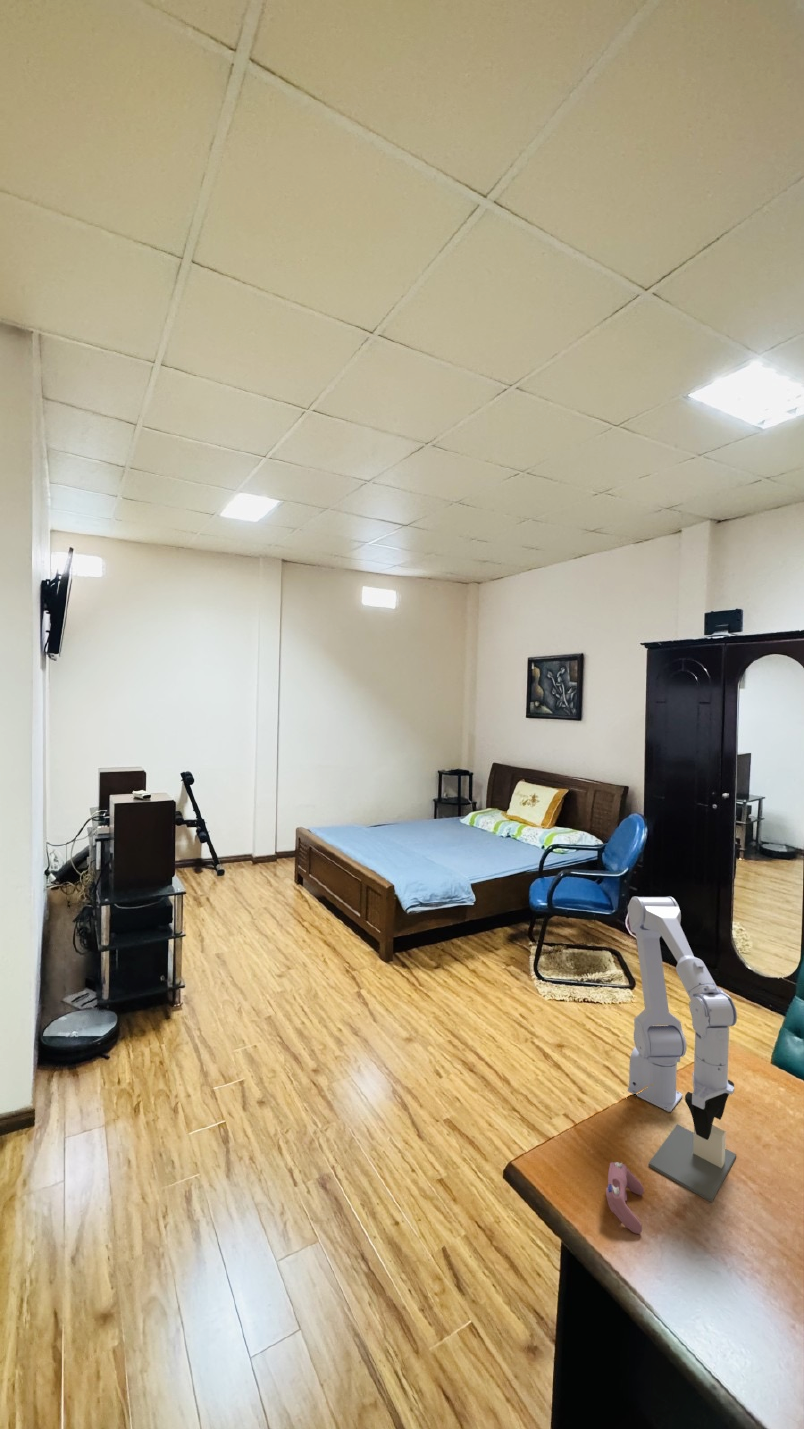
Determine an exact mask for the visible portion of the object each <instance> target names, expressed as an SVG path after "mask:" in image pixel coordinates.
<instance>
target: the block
mask: <svg viewBox="0 0 804 1429" xmlns="http://www.w3.org/2000/svg"><path fill="white" fill-rule="evenodd" d="M693 1132H694V1144H693V1153H694V1154H696V1155H698V1156H699V1157H701V1158H703V1159H705V1160H707V1161H709V1162H711V1163H712V1164H714V1165H716V1166H718V1167H720V1168H722V1167H723V1165H724V1163H725V1149H726V1131H725V1130H724V1129H721V1128H719V1127H717V1126H715V1125H713V1124H712V1129H711V1134H710V1137H709V1139H708V1140H706V1139H704V1138H702V1137H700V1136H698V1135H697V1134H696V1131H695V1127H694V1126H693Z"/></svg>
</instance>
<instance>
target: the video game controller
mask: <svg viewBox="0 0 804 1429" xmlns="http://www.w3.org/2000/svg"><path fill="white" fill-rule="evenodd" d="M626 1189H628V1191H630V1192H632V1193H633V1194H636V1195H637V1196H642V1195H644V1193H645V1188H644V1186H643V1184H642V1183H641V1181H640V1180H639V1179H638V1178H637V1177H636V1176H635V1174H633V1173H632V1172H631V1171H630V1169H629V1167H627V1165H626V1164H625V1163H624V1164H623V1162H619V1161H615V1162H610V1163H609V1167H608V1173H607V1187H606V1188H605V1195H606V1200H607V1204H608V1207H609V1209H610V1211H611V1212H612V1213H613V1214H615V1216H616V1217H617V1219H618V1220H619V1221H620V1222H621V1223H622V1225H624V1227H625V1228H627V1229H628V1230H630V1232H632V1233H634V1234H636V1235H640V1234H641V1233H642V1232H643V1226H642V1224H641V1222H640V1220H639V1218H638V1217H637V1216H636V1214H634V1212H633V1211H632V1209H630V1208H629V1206H628V1204H626V1202H627V1201H628V1194H627V1191H626Z"/></svg>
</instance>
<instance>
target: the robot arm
mask: <svg viewBox="0 0 804 1429" xmlns="http://www.w3.org/2000/svg"><path fill="white" fill-rule="evenodd" d="M627 914H628V920H629V921H628V922H629V928H630V931H631V932H632V933H634V934H635V938H636V946H637V953H638V955H637V956H638V961H639V962H638V963H639V970H640V978H641V985H642V995H643V996H642V997H643V1002H644V1009H643V1010H642V1011H641V1012H640V1013H639V1014H638V1015H636V1016H635V1018H634V1019H633V1020H634V1023H633V1024H634V1031H633V1042H634V1047H633V1050H632V1051H631V1054H630V1057H629V1067H628V1068H629V1070H628V1071H629V1072H628V1074H629V1076H628V1087H627V1092H628V1093H630V1094H632V1095H634V1094H636V1093H637V1092H639V1091H640V1090H642V1089H644V1088H645V1087H648V1088H646V1089H644V1090H643V1091H642V1092H640V1093H638V1094H636V1095H637V1096H636V1095H635V1096H636V1097H638V1098H640V1099H642V1100H644V1101H645V1102H648V1103H650V1104H652V1105H654V1106H656V1107H658V1108H660V1109H662V1110H664V1111H665V1112H668V1113H670V1112H672V1110H674V1108H675V1107H676V1106H677V1104H678V1103H679V1102H680V1100H681V1099H682V1098H683V1097H684V1101H685V1104H686V1105H687V1108H688V1109H689V1111H690V1114H691V1117H692V1121H693V1122H692V1123H693V1128H694V1127H695V1131H696V1134H697V1135H698V1136H700V1137H702V1138H704V1139H706V1140H708V1139H709V1137H710V1134H711V1129H712V1125H713V1122H714V1120H715V1119H717V1120H719V1121H721V1119H722V1118H723V1114H724V1112H725V1107H726V1104H727V1100H728V1098H729V1096H730V1095H731V1096H732V1095H734V1093H735V1083H734V1082H733V1081H732V1080H730V1079H728V1077H729V1075H728V1074H729V1050H730V1049H729V1047H730V1045H729V1044H730V1041H729V1040H730V1039H729V1038H730V1028H729V1027H734V1026H735V1025H737V1024H736V1023H737V1020H738V1013H737V1009H736V1005H735V1004H734V1001H733V999H732V997H731V996H730V995H729V994H728V993H726V992H725V991H723V989H722V988H721V987H718V986H717V984H716V982H715V980H714V979H713V977H712V975H711V973H710V971H709V970H708V968H707V966H706V964H705V963H704V961H703V960H702V959H700V958H698V957H696V956H694V953H693V951H692V949H691V947H690V945H689V942H688V939H687V936H686V935H685V932H684V931H683V928H682V926H681V921H682V920H681V919H682V914H681V910H680V906H679V904H678V902H677V901H676V899H675V898H674V897H672V896H632V897H631V899H630V900H629V903H628V905H627ZM660 938H662V939H663V941H664V942H665V944H666V945H667V947H668V949H669V950H670V952H671V954H672V955H673V957H674V959H675V960H676V962H677V964H676V966H675V971H676V973H677V975H678V977H679V980H680V982H681V983H682V986H683V988H684V989H685V992H686V994H687V995H688V997H689V999H690V1001H689V1002H688V1005H689V1012H690V1015H691V1019H692V1020H691V1022H692V1024H691V1025H692V1028H693V1030H694V1034H695V1035H694V1056H693V1057H694V1061H693V1063H694V1064H693V1066H694V1067H693V1073H692V1087H693V1092H690V1091H687V1092H686V1094H685V1095H683V1093H681V1092H680V1091H678V1090H677V1071H678V1068H677V1067H678V1066H677V1064H678V1063H680V1062H681V1058H683V1057H684V1056H685V1055H686V1053H687V1048H688V1046H687V1040H686V1036H685V1034H684V1031H683V1026H682V1022H681V1021H680V1020H679V1019H678V1018H677V1016H675V1015H673V1014H672V1013H671V1012H670V1010H669V1003H668V1002H669V1001H668V996H667V988H666V987H667V986H666V980H665V971H664V965H663V958H662V957H663V956H662V950H661V944H660V943H661V942H660ZM652 1084H653V1085H652ZM651 1085H652V1086H651Z"/></svg>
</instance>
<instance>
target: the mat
mask: <svg viewBox="0 0 804 1429" xmlns="http://www.w3.org/2000/svg"><path fill="white" fill-rule="evenodd" d="M693 1144H694V1131H691V1130H690V1129H688V1128H686V1127H684V1126H682V1125H680V1124H678V1123H677V1124H676V1125H675V1126H674V1127H673V1129H672V1131H671V1132H669V1135H668V1136H667V1137H666V1139H665V1140H664V1141H663V1143H662V1144H661V1146H660V1147H659V1149H658V1150H657V1151H655V1154H654V1155H653V1156H652V1158H651V1159H650V1160H649V1161H648V1167H649V1168H651V1169H653V1170H654V1171H656V1172H658V1173H659V1174H661V1175H663V1176H664V1177H666V1178H669V1179H670V1180H671V1181H673V1182H675V1183H676V1184H678V1185H680V1186H682V1187H684V1188H685V1189H687V1190H689V1191H690V1192H692V1193H694V1194H695V1195H697V1196H699V1197H701V1198H703V1199H705V1200H706V1201H708V1202H709V1203H713V1201H714V1199H715V1197H716V1196H717V1194H718V1192H719V1190H720V1189H721V1186H722V1184H723V1182H724V1181H725V1179H726V1177H727V1175H728V1173H729V1172H730V1170H731V1168H732V1166H733V1164H734V1162H735V1160H736V1158H737V1153H734V1152H733V1151H731V1150H729V1149H727V1148H725V1163H724V1165H723V1167H722V1168H720V1167H718V1166H716V1165H714V1164H712V1163H711V1162H709V1161H707V1160H705V1159H703V1158H701V1157H699V1156H698V1155H696V1154H694V1153H693Z"/></svg>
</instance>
